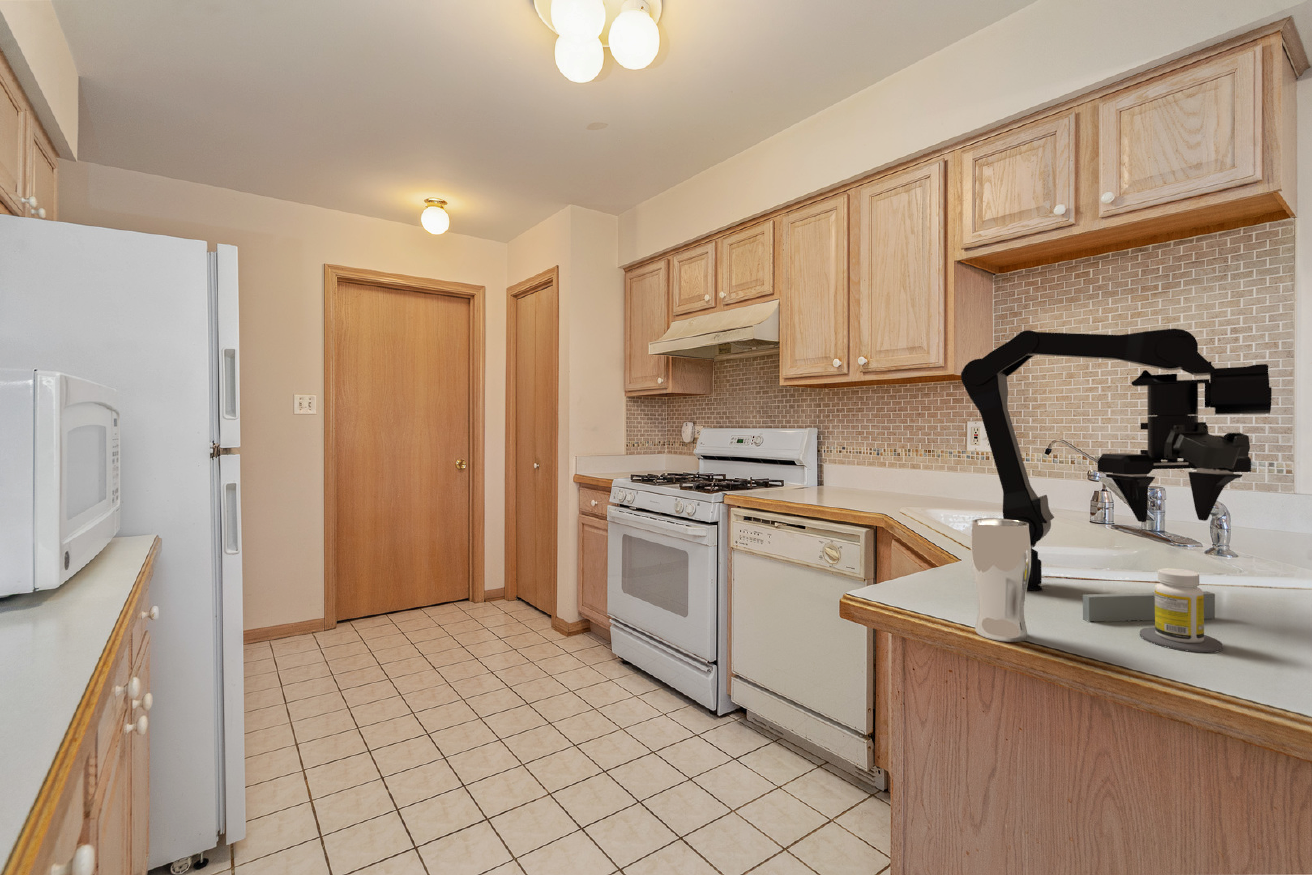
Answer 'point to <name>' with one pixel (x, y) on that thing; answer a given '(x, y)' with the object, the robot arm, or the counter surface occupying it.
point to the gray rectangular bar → (1131, 606)
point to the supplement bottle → (1179, 606)
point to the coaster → (1204, 646)
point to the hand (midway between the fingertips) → (1172, 521)
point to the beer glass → (1001, 577)
